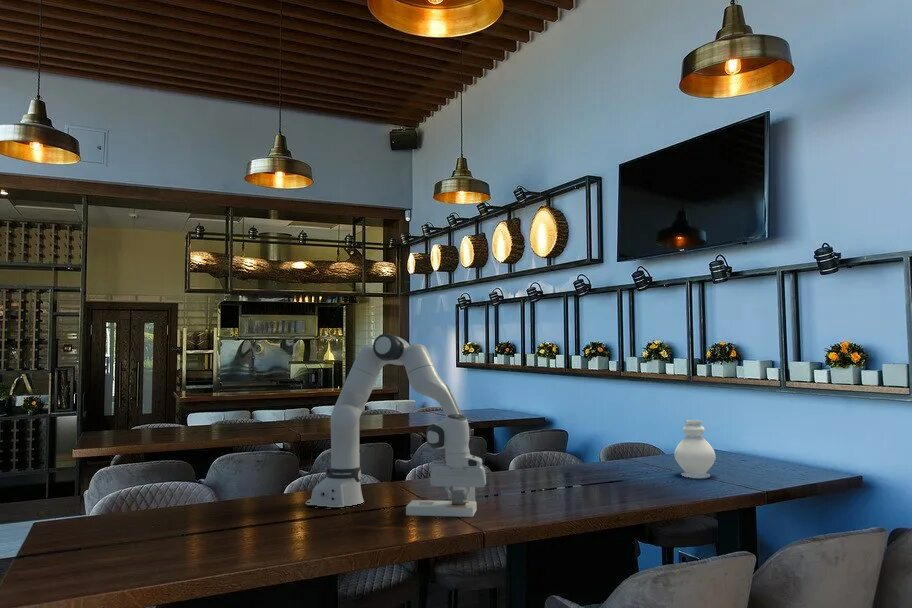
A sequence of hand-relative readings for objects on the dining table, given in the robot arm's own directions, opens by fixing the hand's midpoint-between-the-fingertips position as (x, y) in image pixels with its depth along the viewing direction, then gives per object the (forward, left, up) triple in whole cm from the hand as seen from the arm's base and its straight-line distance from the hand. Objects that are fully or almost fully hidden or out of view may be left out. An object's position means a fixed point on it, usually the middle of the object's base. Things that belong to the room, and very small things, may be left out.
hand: (458, 499), depth 238 cm
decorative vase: (+97, +83, -6) cm, 128 cm away
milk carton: (-1, +20, -6) cm, 21 cm away
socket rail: (-6, 0, -6) cm, 8 cm away
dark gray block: (0, 0, -4) cm, 4 cm away
